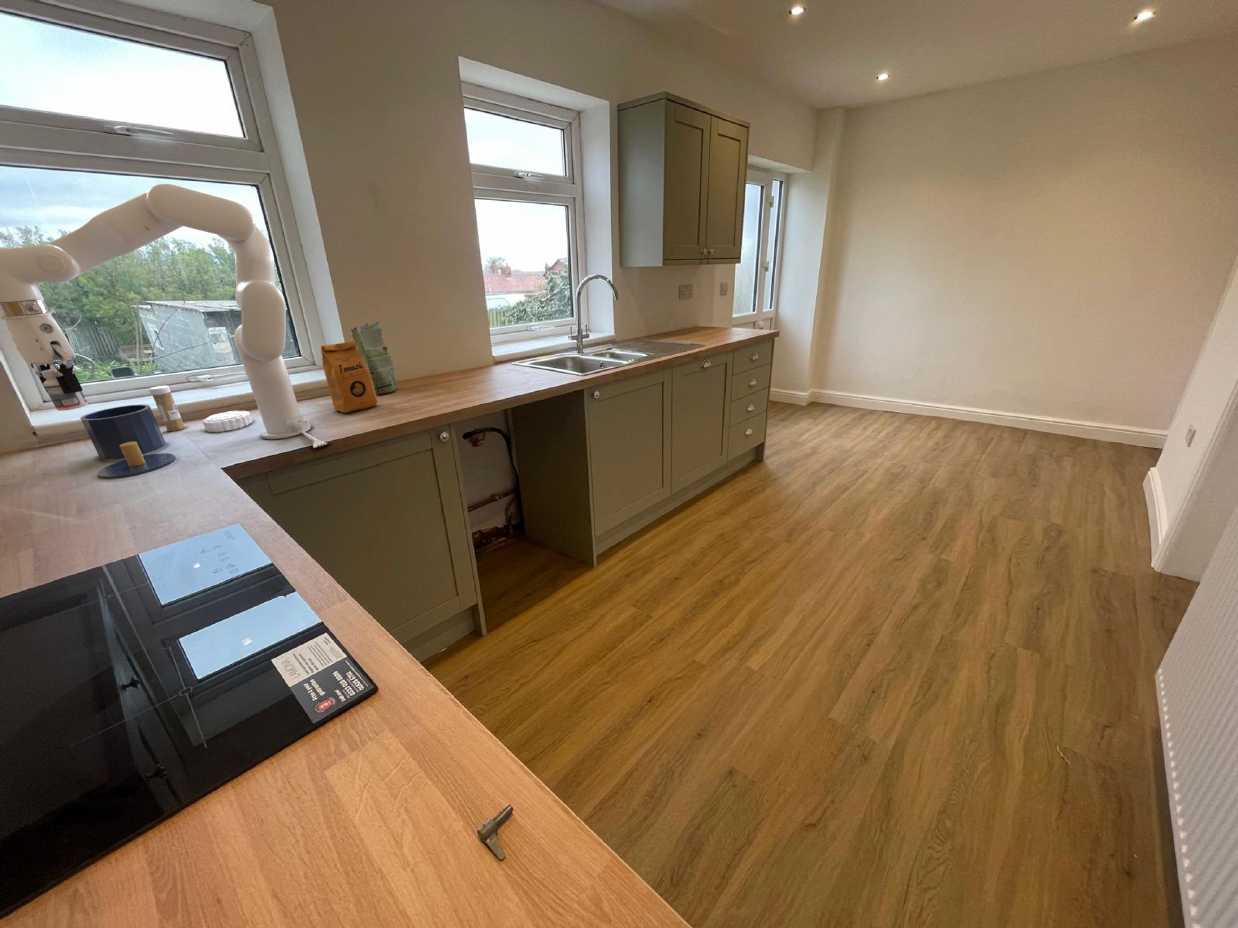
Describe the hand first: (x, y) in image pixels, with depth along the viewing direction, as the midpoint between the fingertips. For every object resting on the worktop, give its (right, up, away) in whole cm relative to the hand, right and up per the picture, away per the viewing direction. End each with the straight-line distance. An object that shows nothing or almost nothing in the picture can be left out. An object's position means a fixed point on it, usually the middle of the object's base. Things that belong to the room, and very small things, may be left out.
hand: (64, 391), depth 115 cm
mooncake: (+6, -5, +41) cm, 42 cm away
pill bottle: (0, -4, +2) cm, 4 cm away
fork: (+42, -11, +24) cm, 50 cm away
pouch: (+38, +10, +73) cm, 84 cm away
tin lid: (+6, -17, +11) cm, 21 cm away
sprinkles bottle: (-10, -6, +41) cm, 42 cm away
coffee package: (+39, +2, +53) cm, 66 cm away
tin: (-6, -13, +23) cm, 27 cm away
